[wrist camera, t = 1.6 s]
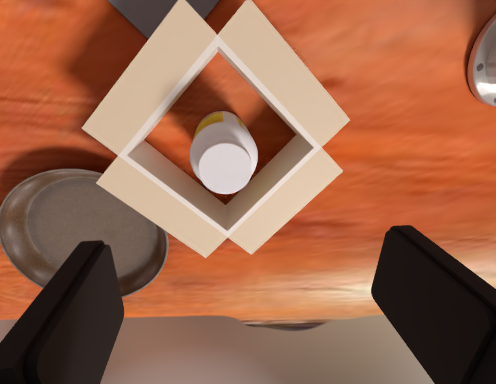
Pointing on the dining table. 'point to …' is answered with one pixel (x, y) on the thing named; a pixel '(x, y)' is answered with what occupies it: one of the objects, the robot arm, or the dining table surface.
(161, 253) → the plant saucer
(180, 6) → the carton
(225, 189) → the supplement bottle
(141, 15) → the coaster mat
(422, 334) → the robot arm
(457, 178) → the dining table surface
